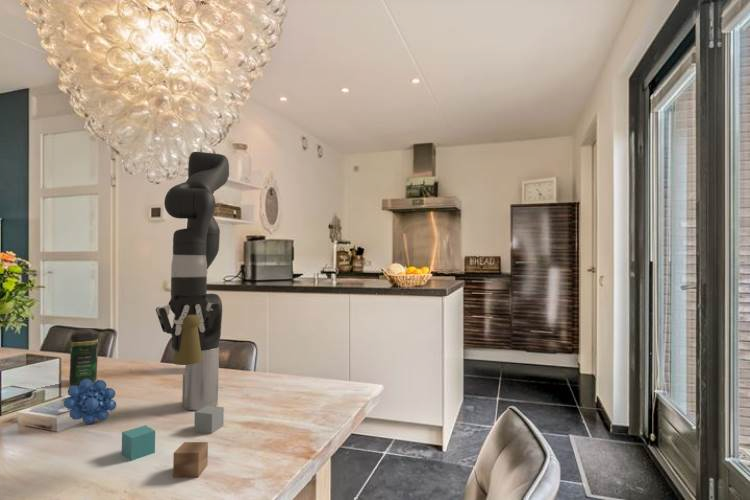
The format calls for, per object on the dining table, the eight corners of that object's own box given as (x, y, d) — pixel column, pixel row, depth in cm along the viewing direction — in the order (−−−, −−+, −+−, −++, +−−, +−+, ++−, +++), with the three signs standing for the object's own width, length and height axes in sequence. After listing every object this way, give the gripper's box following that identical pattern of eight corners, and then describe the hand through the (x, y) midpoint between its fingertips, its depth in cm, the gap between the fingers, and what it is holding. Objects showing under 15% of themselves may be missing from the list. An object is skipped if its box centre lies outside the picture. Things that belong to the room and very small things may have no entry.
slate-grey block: (194, 431, 106) (194, 412, 107) (206, 424, 111) (207, 405, 111) (211, 434, 105) (212, 414, 105) (223, 426, 110) (223, 407, 110)
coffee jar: (96, 384, 145) (97, 330, 145) (68, 387, 141) (69, 332, 141) (97, 377, 153) (98, 326, 154) (71, 380, 149) (72, 328, 150)
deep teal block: (121, 454, 94) (122, 432, 94) (144, 446, 98) (145, 425, 98) (131, 461, 91) (131, 438, 91) (154, 453, 95) (155, 430, 95)
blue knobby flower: (63, 434, 104) (64, 385, 104) (62, 425, 109) (63, 379, 110) (118, 423, 111) (119, 378, 111) (114, 416, 116) (115, 372, 117)
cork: (191, 365, 92) (192, 315, 93) (167, 364, 94) (168, 314, 94) (207, 359, 98) (208, 312, 98) (184, 357, 99) (185, 311, 100)
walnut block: (173, 478, 84) (173, 452, 84) (183, 465, 89) (184, 442, 89) (198, 477, 84) (198, 452, 84) (207, 465, 89) (207, 442, 89)
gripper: (211, 273, 104) (210, 343, 104) (150, 275, 94) (148, 352, 93) (226, 274, 99) (225, 347, 99) (162, 276, 89) (161, 357, 88)
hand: (187, 349), depth 96 cm, fingers closed on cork, 4 cm apart
